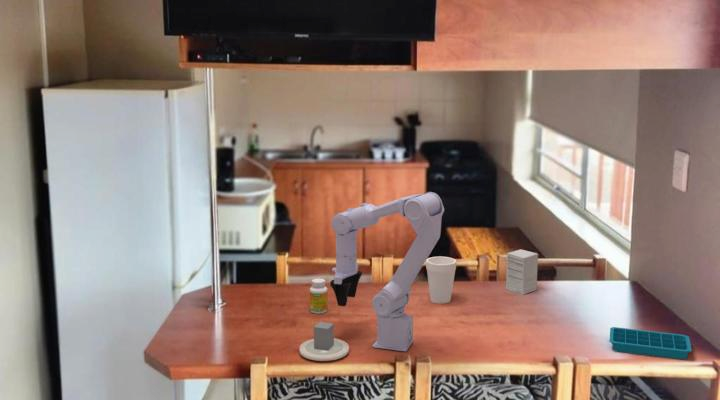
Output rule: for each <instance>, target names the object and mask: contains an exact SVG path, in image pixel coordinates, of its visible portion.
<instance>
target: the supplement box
mask: <svg viewBox="0 0 720 400" xmlns="http://www.w3.org/2000/svg"><path fill="white" fill-rule="evenodd" d="M538 260H539V253H537V252H532V251H528V250H526V249H525V250H524V249H521V248H520V249H517V250H514V251H511V252H507V254H506V270H505V271H506V277H505V280H506V281H505V290H507V291H509V292H513V293H516V294H519V295H523V296H524V295H526V294H530V293H531V292H535V291H537V287H538V286H537V285H538V262H539V261H538Z"/></svg>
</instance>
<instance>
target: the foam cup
mask: <svg viewBox="0 0 720 400" xmlns="http://www.w3.org/2000/svg"><path fill="white" fill-rule="evenodd" d="M425 268H426V274H427V282H428V289H429V298H430V302H432V303H435V304H441V305H442V304H449V303H450V302H451V299H452V293H453V288H454V287H453V286H454V282H455V281H454V280H455V274H456V270H457V260H456V259H455V258H452V257H449V256H441V255H439V256H432V257H428V258H427V259H426V261H425Z"/></svg>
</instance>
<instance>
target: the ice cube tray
mask: <svg viewBox="0 0 720 400" xmlns="http://www.w3.org/2000/svg"><path fill="white" fill-rule="evenodd" d="M609 343H611V344H612V346H611V348H612V351H614V352H620V353H628V354H635V355H644V356H645V355H646V356H650V357H651V356H653V357H660V358H668V359H678V360H687V359H688V355H689V353H691V352H692V351H693V349H692V346H691V341H690V336H689V335H685V334H679V333H670V332H662V331H661V332H660V331H652V330H645V329H644V330H643V329H635V328H625V327H617V326H611V327H610V328H609Z"/></svg>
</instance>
